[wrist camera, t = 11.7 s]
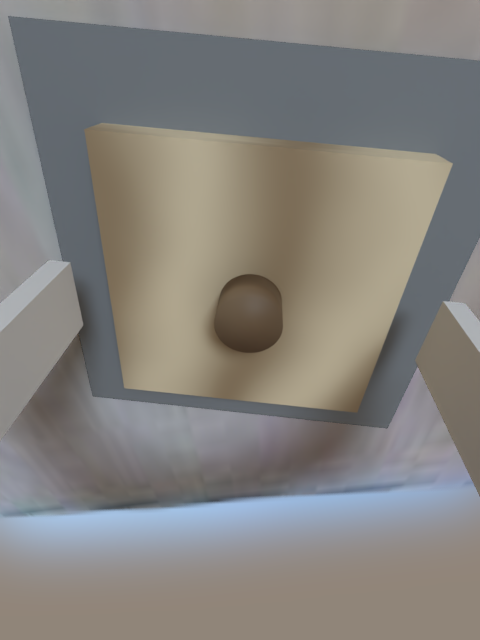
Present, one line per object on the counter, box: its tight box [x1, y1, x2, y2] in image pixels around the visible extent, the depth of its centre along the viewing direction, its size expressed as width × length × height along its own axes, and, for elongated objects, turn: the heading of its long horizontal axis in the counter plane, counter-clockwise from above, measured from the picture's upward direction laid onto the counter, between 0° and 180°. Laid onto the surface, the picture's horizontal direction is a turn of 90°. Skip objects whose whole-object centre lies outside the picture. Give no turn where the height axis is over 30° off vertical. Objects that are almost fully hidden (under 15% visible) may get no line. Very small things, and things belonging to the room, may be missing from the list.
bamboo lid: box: [84, 123, 453, 413], centre depth 14 cm, size 11×11×3 cm
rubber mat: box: [8, 16, 480, 428], centre depth 15 cm, size 16×16×1 cm
